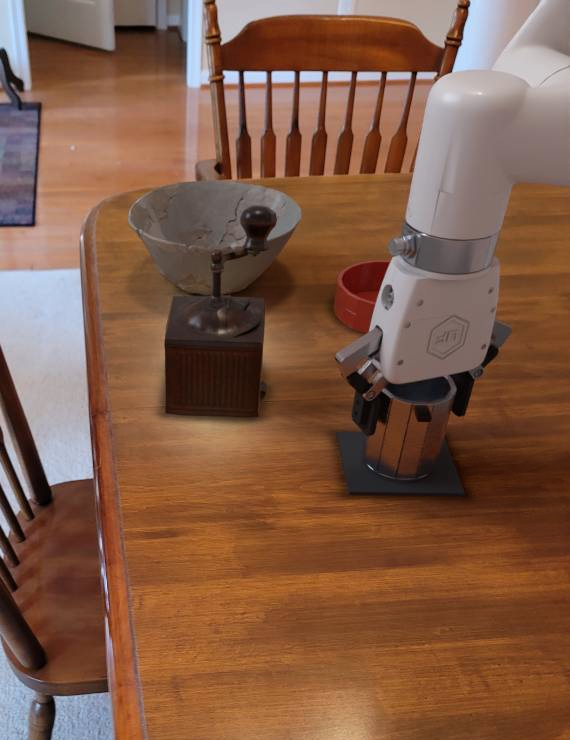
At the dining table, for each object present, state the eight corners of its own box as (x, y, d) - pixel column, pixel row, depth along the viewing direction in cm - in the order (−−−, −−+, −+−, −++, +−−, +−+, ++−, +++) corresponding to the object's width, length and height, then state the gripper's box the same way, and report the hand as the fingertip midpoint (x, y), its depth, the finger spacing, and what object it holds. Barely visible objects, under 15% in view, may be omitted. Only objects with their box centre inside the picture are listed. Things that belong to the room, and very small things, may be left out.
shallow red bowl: (425, 292, 112) (432, 260, 109) (446, 341, 102) (454, 307, 99) (328, 292, 112) (332, 259, 109) (340, 340, 103) (345, 306, 100)
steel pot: (424, 432, 87) (443, 355, 81) (444, 492, 80) (467, 413, 73) (354, 431, 87) (368, 355, 81) (369, 491, 80) (385, 412, 74)
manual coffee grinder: (265, 422, 90) (279, 261, 78) (163, 417, 91) (161, 257, 78) (266, 349, 101) (279, 199, 89) (175, 345, 102) (175, 196, 90)
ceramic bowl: (298, 253, 121) (306, 182, 115) (287, 329, 105) (295, 252, 98) (149, 243, 124) (147, 174, 118) (115, 316, 108) (111, 240, 101)
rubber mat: (441, 438, 87) (442, 432, 87) (463, 499, 80) (465, 493, 79) (335, 437, 88) (336, 431, 87) (348, 498, 80) (349, 491, 80)
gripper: (375, 279, 64) (345, 458, 75) (566, 247, 68) (509, 422, 79) (331, 241, 69) (309, 414, 81) (510, 213, 73) (464, 382, 84)
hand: (408, 418), depth 80 cm, fingers open, 9 cm apart
